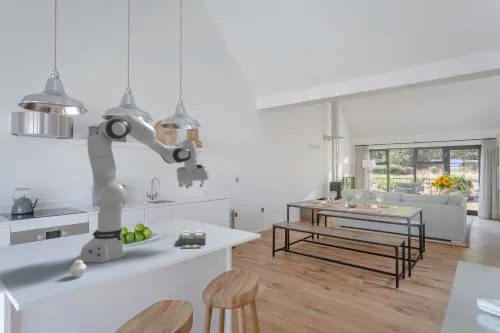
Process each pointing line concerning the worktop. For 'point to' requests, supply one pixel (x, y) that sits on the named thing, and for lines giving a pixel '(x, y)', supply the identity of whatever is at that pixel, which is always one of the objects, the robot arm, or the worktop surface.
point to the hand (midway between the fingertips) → (194, 187)
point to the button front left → (185, 235)
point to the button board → (192, 240)
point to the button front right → (198, 235)
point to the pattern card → (190, 246)
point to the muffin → (78, 268)
